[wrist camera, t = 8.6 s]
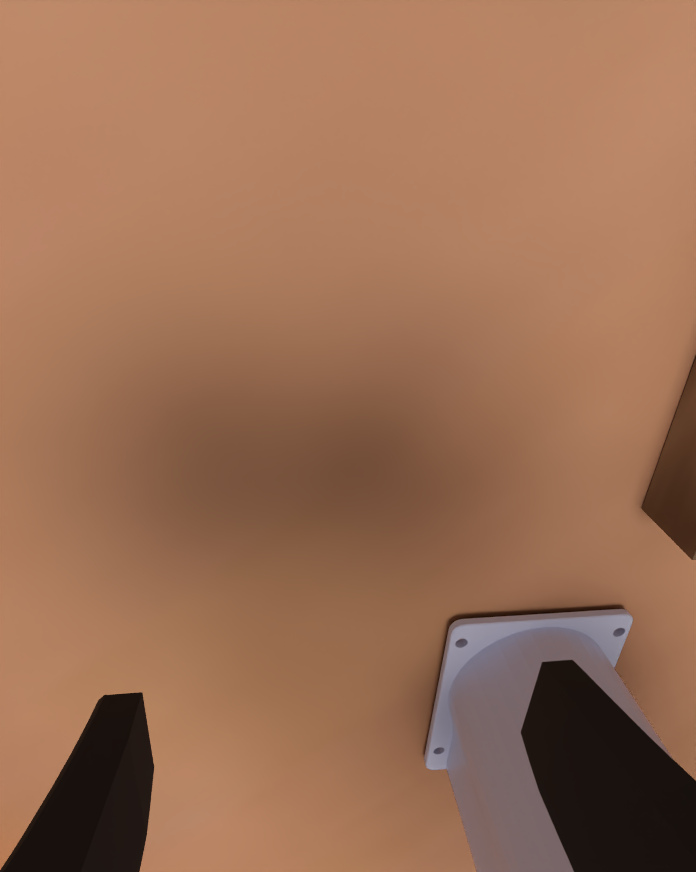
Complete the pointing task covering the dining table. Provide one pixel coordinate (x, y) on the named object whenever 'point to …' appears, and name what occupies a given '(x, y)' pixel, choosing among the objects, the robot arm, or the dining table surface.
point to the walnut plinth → (677, 476)
